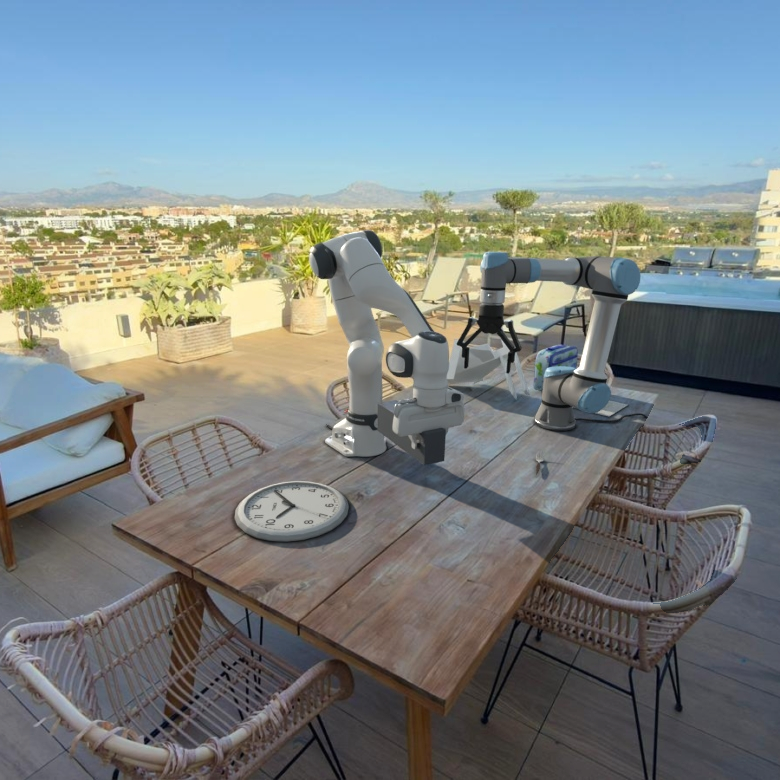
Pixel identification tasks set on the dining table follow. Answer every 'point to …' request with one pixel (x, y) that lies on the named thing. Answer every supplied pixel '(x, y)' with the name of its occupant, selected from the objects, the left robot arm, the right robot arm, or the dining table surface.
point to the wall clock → (291, 511)
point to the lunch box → (553, 361)
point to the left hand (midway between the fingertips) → (428, 445)
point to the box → (429, 440)
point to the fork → (539, 461)
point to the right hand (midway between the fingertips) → (486, 370)
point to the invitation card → (611, 408)
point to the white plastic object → (482, 365)
